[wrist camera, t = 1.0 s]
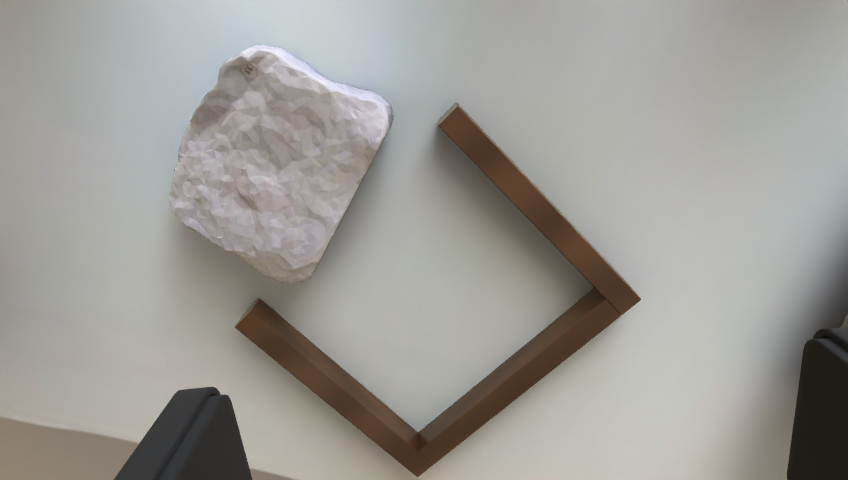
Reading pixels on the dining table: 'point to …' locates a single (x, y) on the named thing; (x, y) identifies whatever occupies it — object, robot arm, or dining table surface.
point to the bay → (503, 382)
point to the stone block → (275, 160)
